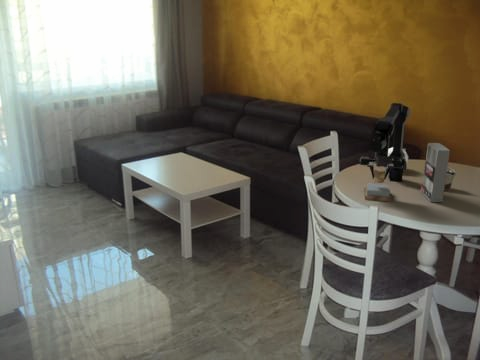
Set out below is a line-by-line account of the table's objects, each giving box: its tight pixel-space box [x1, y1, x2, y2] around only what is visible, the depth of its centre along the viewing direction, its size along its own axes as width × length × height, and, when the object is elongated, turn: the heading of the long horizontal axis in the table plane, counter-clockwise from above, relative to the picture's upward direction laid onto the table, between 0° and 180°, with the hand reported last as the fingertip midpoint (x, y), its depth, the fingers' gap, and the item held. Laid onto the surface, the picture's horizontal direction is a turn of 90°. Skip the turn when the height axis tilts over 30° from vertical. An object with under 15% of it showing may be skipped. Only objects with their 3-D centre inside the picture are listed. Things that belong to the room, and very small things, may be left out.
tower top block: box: [366, 182, 391, 197], centre depth 228 cm, size 10×10×2 cm
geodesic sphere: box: [388, 146, 409, 167], centre depth 267 cm, size 14×14×14 cm
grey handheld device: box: [419, 142, 451, 203], centre depth 224 cm, size 14×6×25 cm, turn 178°
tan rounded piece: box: [372, 169, 386, 184], centre depth 226 cm, size 5×5×5 cm
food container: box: [444, 167, 456, 191], centre depth 240 cm, size 12×6×10 cm, turn 65°
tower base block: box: [363, 187, 393, 202], centre depth 229 cm, size 12×12×2 cm
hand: (378, 179), depth 226 cm, fingers closed on tan rounded piece, 5 cm apart
